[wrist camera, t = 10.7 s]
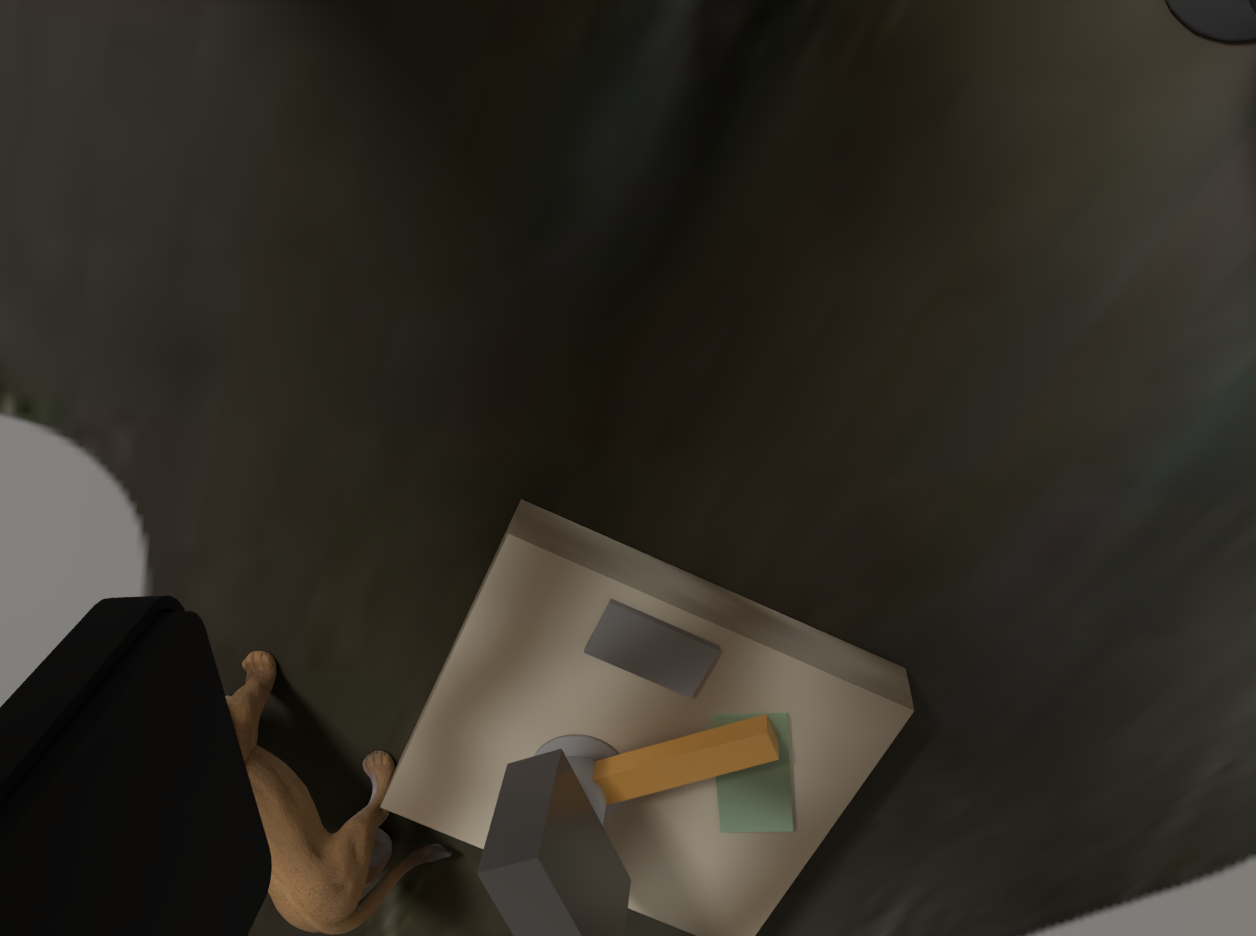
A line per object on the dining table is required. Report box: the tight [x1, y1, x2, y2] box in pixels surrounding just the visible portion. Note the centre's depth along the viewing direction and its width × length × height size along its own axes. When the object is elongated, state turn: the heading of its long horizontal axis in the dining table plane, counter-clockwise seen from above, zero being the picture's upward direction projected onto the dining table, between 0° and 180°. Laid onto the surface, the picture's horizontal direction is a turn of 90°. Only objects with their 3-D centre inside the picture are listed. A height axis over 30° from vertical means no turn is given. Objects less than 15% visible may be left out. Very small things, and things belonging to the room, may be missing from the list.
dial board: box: [380, 499, 914, 936], centre depth 44 cm, size 15×13×3 cm
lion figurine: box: [225, 651, 452, 935], centre depth 43 cm, size 15×5×9 cm, turn 50°
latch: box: [477, 714, 779, 936], centre depth 39 cm, size 8×6×7 cm
